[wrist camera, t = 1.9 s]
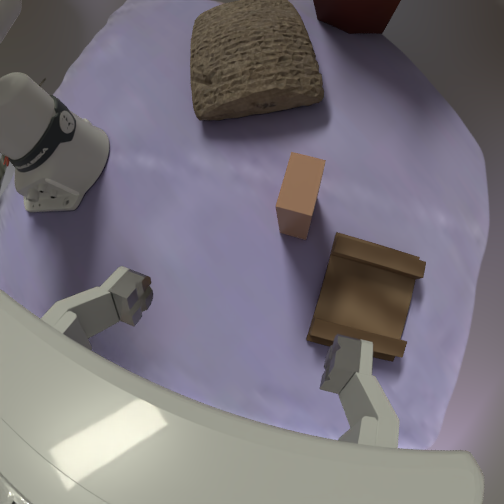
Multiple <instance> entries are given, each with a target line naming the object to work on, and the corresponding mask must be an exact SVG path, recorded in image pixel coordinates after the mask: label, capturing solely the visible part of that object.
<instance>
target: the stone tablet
mask: <svg viewBox="0 0 504 504" xmlns="http://www.w3.org/2000/svg"><path fill="white" fill-rule="evenodd" d="M315 57H316V56H315V53H314V50H313V47H312V44H311V41H310V39H309V36H308V32H307V30H306V28H305V26H304V23H303V21H302V19H301V17H300V15H299V13H298V12H297V10H296V9H295V8H294V6H293V5H292V4H291V3H290V2H289V1H288V0H241V1H235V2H231V3H225V4H222V5H219V6H216V7H214V8H212V9H210V10H207V11H205V12H203V13H202V14H200V15H199V16H198V17H197V19H196V20H195V23H194V26H193V32H192V38H191V59H190V69H191V90H192V101H193V108H194V111H195V114H196V117H197V118H198V119H199V120H222V119H227V118H239V117H244V116H248V115H252V114H264V113H269V112H274V111H280V110H285V109H290V108H294V107H299V106H309V105H312V104H314V103H319V102H320V101H322V99H323V97H324V90H323V88H322V85H323V82H322V76H321V74H320V73H319V65H318V62H317V61H316V60H315Z"/></svg>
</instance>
